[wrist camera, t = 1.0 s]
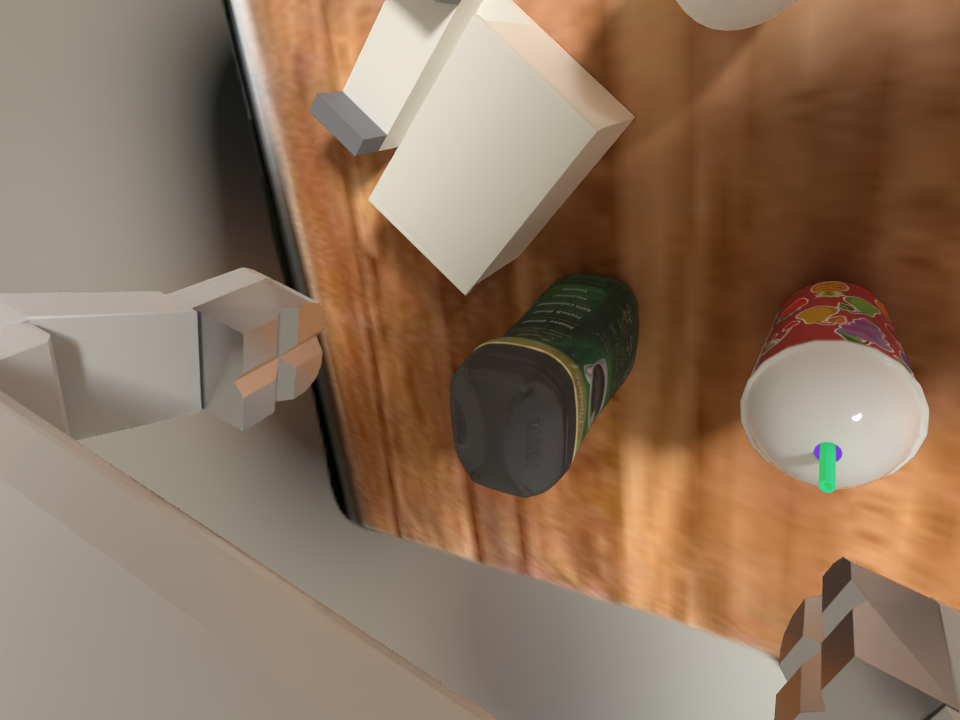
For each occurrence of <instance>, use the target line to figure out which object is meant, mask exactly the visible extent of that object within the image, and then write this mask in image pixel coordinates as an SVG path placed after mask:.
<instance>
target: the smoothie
mask: <svg viewBox="0 0 960 720" xmlns="http://www.w3.org/2000/svg"><path fill="white" fill-rule="evenodd" d="M740 411H741V424H742V426H743V428H744V431H745V433H746V436H747V438H748V440H749V443H750V444H751V445H752V446H753V447H754V448H755V449H756V451H757V452H758V453H759V454H760V455H761V456H762V457H763V459H764V460H765V461H767V462H768V463H770V464H771V465H773V466H774V467H775V468H776V469H778V470H779V471H781V472H783V473H784V474H786V475H787V476H789V477H790V478H792V479H793V480H796V481H799V482H802V483H805V484H808V485H811V486H813V487H818V488H819V489H821V490H822V491H823V492H827V493H830V492H833V491H834V490H835V489H836V490H840V489H847V488H855V487H862V486H865V485H867V484H870V483H872V482H875V481H877V480H880V479H882V478H884V477H885V476H888V475H890V474H893V473H895V472H896V471H897V470H899V469H900V468H901V467H902V466H903V465H905V464H906V463H907V462H908V461H909V460H911V459H912V458H913V457H914V456H915V455H916V453H917V452H918V450H919V448H920V446H921V445H922V443H923V441H924V439H925V438H926V436H927V434H928V422H929V407H928V404H927V401H926V398H925V396H924V393H923V390H922V387H921V385H920V384H919V382H918V381H917V380H916V379H915V376H914V374H913V372H912V369H911V367H910V365H909V362H908V360H907V358H906V355H905V353H904V351H903V348H902V346H901V344H900V341H899V339H898V337H897V334H896V332H895V330H894V327H893V325H892V323H891V320H890V318H889V316H888V313H887V311H886V308H885V306H884V304H883V303H882V302H881V301H880V300H879V299H878V298H877V297H876V296H875V295H874V294H873V293H872V292H870V291H868V290H866V289H864V288H862V287H860V286H858V285H856V284H851V283H846V282H842V281H829V282H819V283H816V284H813V285H810V286H807V287H804V288H801V289H800V290H799V291H797V292H796V293H794V294H793V295H791V296H790V297H789V298H788V299H787V300H786V301H785V302H784V304H783V305H782V306H781V308H780V309H779V310H778V313H777V315H776V318H775V320H774V322H773V325H772V327H771V329H770V332H769V334H768V336H767V339H766V341H765V343H764V346H763V348H762V351H761V353H760V355H759V358H758V360H757V362H756V365H755V367H754V369H753V372H752V374H751V377H750V378H749V379H748V381H747V384H746V386H745V389H744V392H743V394H742V397H741V400H740Z"/></svg>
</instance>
